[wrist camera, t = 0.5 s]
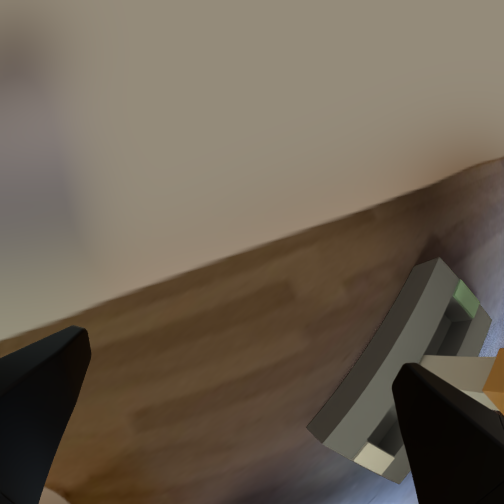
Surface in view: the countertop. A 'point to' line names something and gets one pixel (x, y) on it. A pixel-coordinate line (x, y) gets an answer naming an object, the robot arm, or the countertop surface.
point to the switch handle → (472, 376)
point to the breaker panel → (391, 360)
